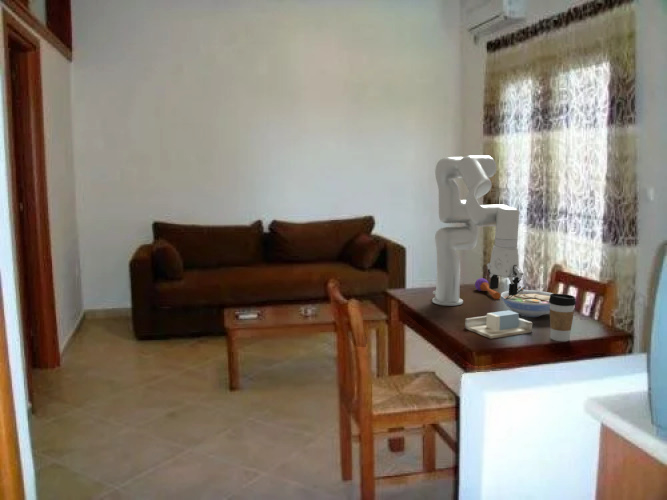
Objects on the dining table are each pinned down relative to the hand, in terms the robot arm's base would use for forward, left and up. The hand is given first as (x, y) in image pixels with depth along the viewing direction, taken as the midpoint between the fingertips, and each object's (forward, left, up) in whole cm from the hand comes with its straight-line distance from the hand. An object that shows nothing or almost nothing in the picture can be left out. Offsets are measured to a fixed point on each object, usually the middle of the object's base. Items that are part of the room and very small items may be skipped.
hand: (503, 291), depth 217 cm
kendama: (-46, +32, -14) cm, 58 cm away
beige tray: (0, -2, -14) cm, 14 cm away
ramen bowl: (-11, +23, -14) cm, 29 cm away
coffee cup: (+17, +10, -14) cm, 24 cm away
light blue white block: (0, 0, -13) cm, 13 cm away
